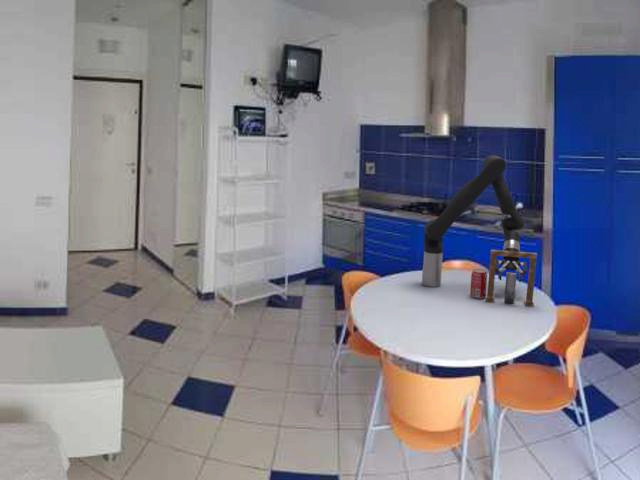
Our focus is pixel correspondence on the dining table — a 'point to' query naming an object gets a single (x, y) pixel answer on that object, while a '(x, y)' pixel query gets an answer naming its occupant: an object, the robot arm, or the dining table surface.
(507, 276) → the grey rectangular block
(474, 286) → the soda can
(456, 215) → the robot arm
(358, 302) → the dining table surface
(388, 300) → the dining table surface
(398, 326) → the dining table surface
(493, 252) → the arch
